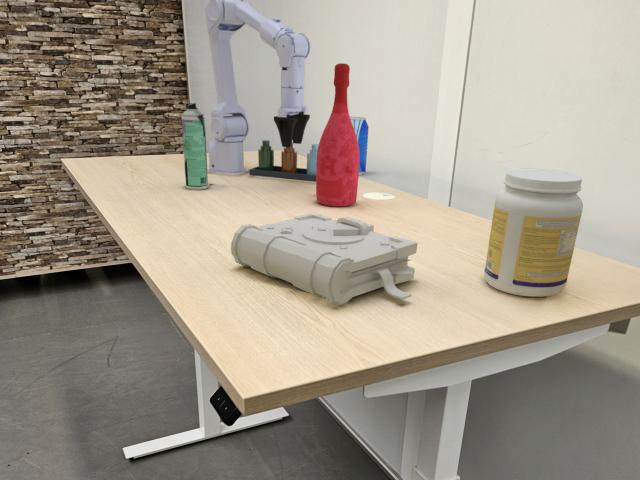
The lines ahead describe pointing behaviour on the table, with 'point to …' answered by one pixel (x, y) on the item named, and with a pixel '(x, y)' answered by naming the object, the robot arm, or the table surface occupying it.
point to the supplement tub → (534, 232)
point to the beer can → (361, 140)
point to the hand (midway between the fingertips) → (291, 145)
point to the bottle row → (268, 158)
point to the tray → (283, 174)
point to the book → (326, 256)
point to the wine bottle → (338, 150)
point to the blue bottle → (312, 160)
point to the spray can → (194, 148)
